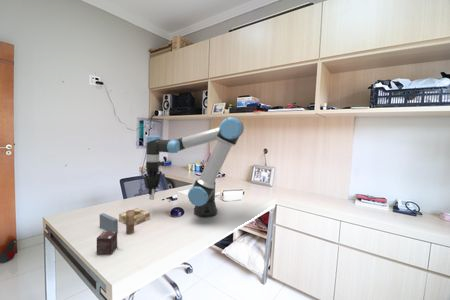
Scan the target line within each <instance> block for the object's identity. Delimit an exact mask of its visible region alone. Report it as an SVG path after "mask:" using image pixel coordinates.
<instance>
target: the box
mask: <svg viewBox="0 0 450 300" xmlns="http://www.w3.org/2000/svg"><path fill="white" fill-rule="evenodd" d="M117 248H118V233H117V231H112V232H110V231H106V230H104V231H102V232H101V233H100V234H98V236H97V237H96V255H97V256H99V255H102V256H103V255H106V256H107V255H113V253H114V251H115V250H116V249H117Z"/></svg>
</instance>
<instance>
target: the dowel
mask: <svg viewBox="0 0 450 300" xmlns="http://www.w3.org/2000/svg"><path fill="white" fill-rule="evenodd" d="M125 212H126V224H125V234H126V235H132V234H134V233H135V225H134V209H130V210H128V209H127V210H126V211H125Z"/></svg>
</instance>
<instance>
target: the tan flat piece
mask: <svg viewBox="0 0 450 300" xmlns="http://www.w3.org/2000/svg"><path fill="white" fill-rule="evenodd" d="M133 210H134V226H137V225H140V224H142V223H144V222H147V221H149V220H150V218H151V215H150V212H148V211H146V210H143V209H140V208H133ZM118 222H120V223H122V224H124V225H126V211H125V212H122V213H119V214H118Z"/></svg>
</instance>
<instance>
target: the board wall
mask: <svg viewBox="0 0 450 300" xmlns="http://www.w3.org/2000/svg"><path fill="white" fill-rule="evenodd" d="M118 222H119V218H116V217H114V216H111V215H109V214H106V213H99V228H101V229H103V230H104V231H110V232H112V231H117V234H118V233H119V231H118V229H119V228H118V227H119V226H118V225H119V223H118Z"/></svg>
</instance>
